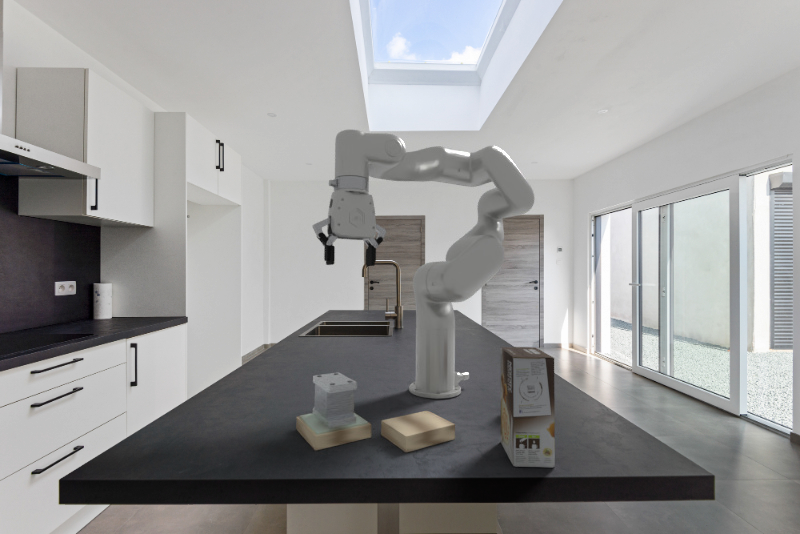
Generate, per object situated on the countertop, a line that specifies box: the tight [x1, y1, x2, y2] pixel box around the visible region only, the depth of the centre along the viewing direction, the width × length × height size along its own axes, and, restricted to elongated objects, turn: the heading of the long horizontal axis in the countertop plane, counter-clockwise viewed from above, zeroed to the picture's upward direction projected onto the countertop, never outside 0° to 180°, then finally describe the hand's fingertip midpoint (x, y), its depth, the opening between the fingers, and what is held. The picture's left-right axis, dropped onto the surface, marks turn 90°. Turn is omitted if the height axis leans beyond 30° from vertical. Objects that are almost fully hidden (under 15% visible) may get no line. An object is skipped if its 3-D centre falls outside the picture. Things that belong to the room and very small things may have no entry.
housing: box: [312, 372, 358, 429], centre depth 68 cm, size 8×5×7 cm, turn 32°
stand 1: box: [295, 412, 372, 451], centre depth 68 cm, size 10×10×2 cm
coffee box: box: [499, 346, 556, 469], centre depth 61 cm, size 9×6×16 cm
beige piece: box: [380, 410, 456, 453], centre depth 66 cm, size 10×8×2 cm
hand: (350, 265), depth 84 cm, fingers open, 9 cm apart
